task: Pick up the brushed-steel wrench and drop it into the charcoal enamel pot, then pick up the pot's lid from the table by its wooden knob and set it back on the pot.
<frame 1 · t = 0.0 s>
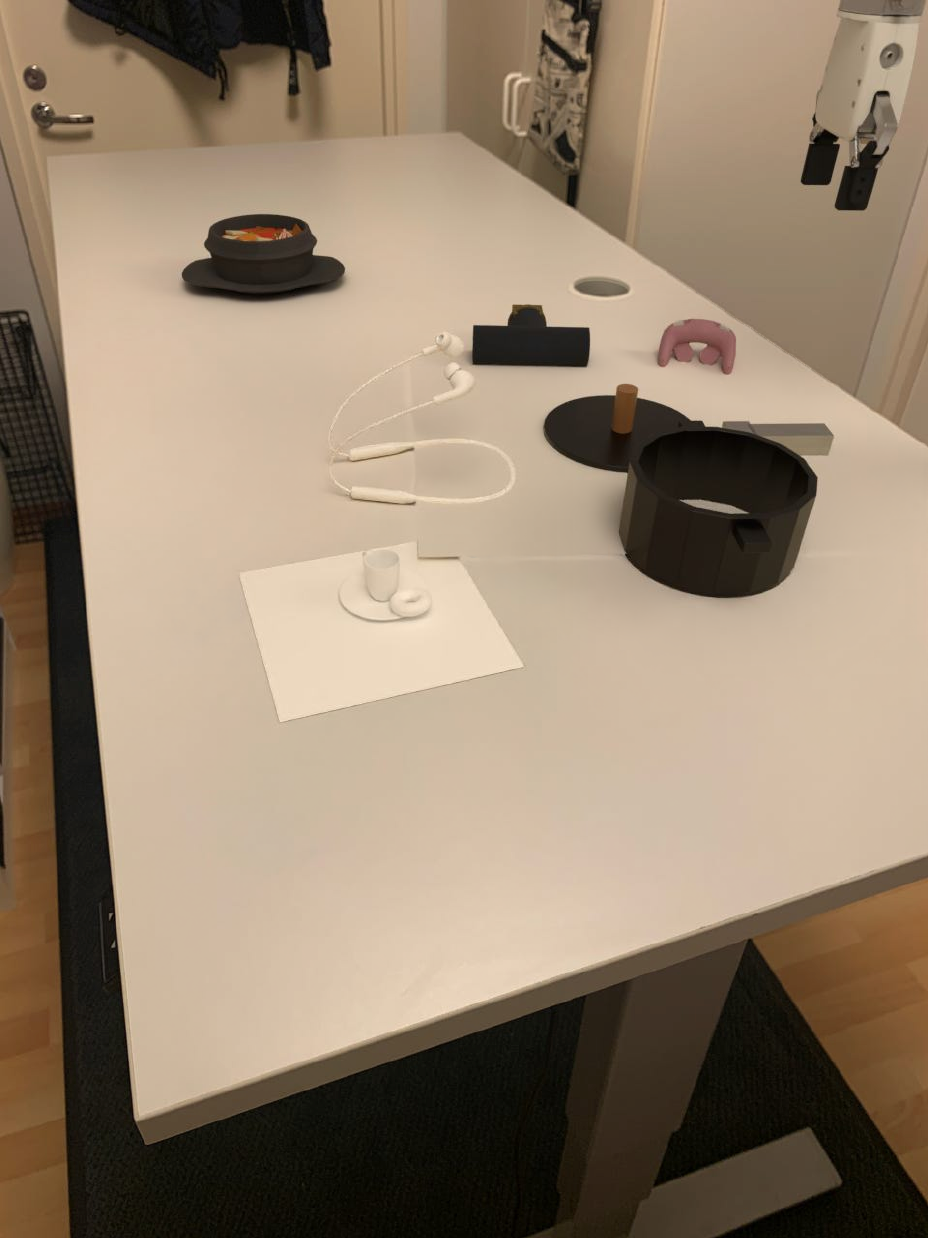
hand: (831, 196, 95), 25 cm above the table, tool pointing down, fingers open, 9 cm apart
video game controller: (693, 367, 122), on the table
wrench: (783, 453, 103), on the table
teacup and saucer: (373, 619, 79), on the table
pot: (705, 545, 88), on the table
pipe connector: (527, 355, 123), on the table
earphone: (423, 477, 98), on the table
lid: (620, 433, 105), point 1 cm above the table
casserole: (265, 284, 143), on the table
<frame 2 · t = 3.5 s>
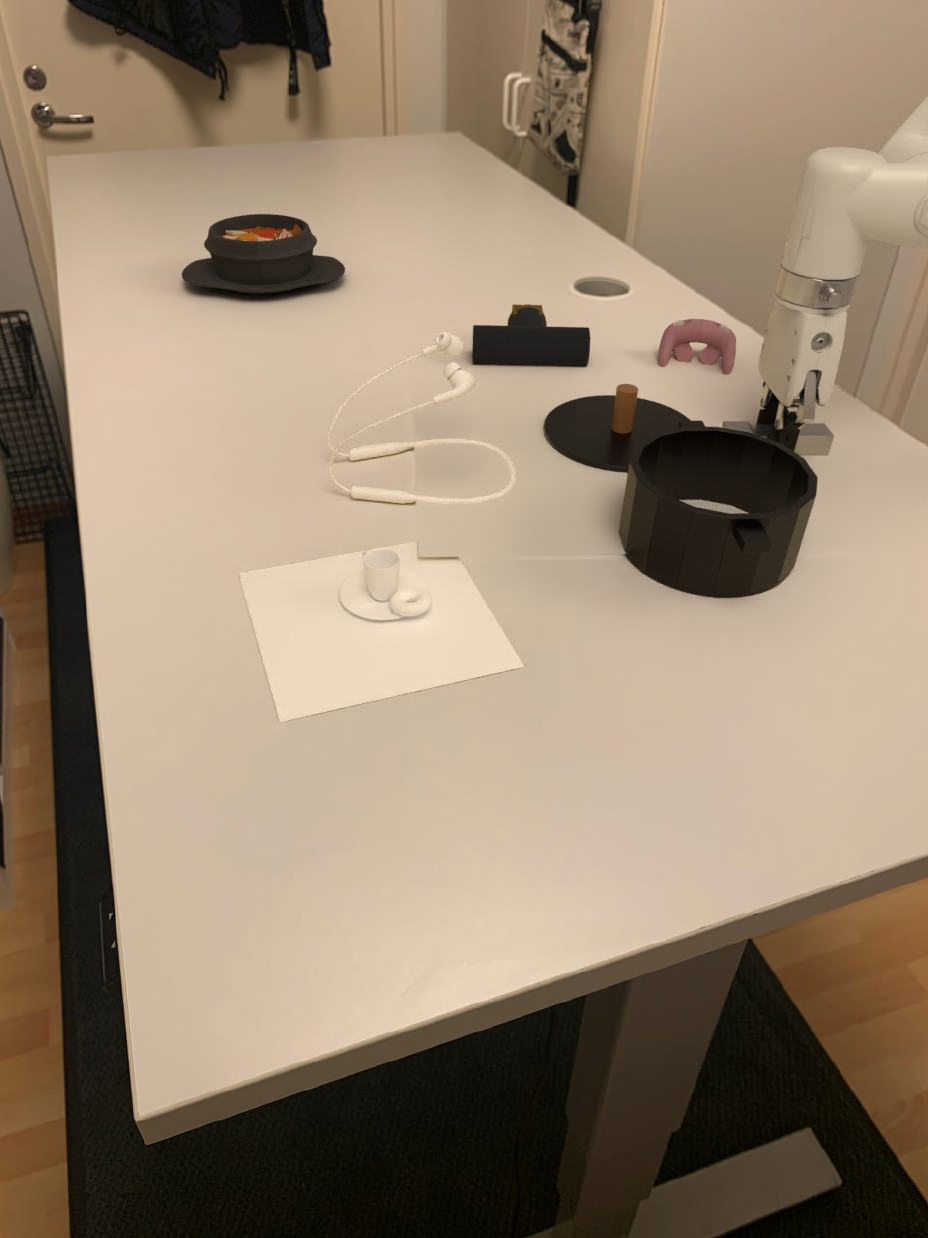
hand: (771, 448, 103), 1 cm above the table, tool pointing down, fingers closed on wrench, 3 cm apart
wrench: (783, 453, 103), on the table, touching gripper
everything else where it was.
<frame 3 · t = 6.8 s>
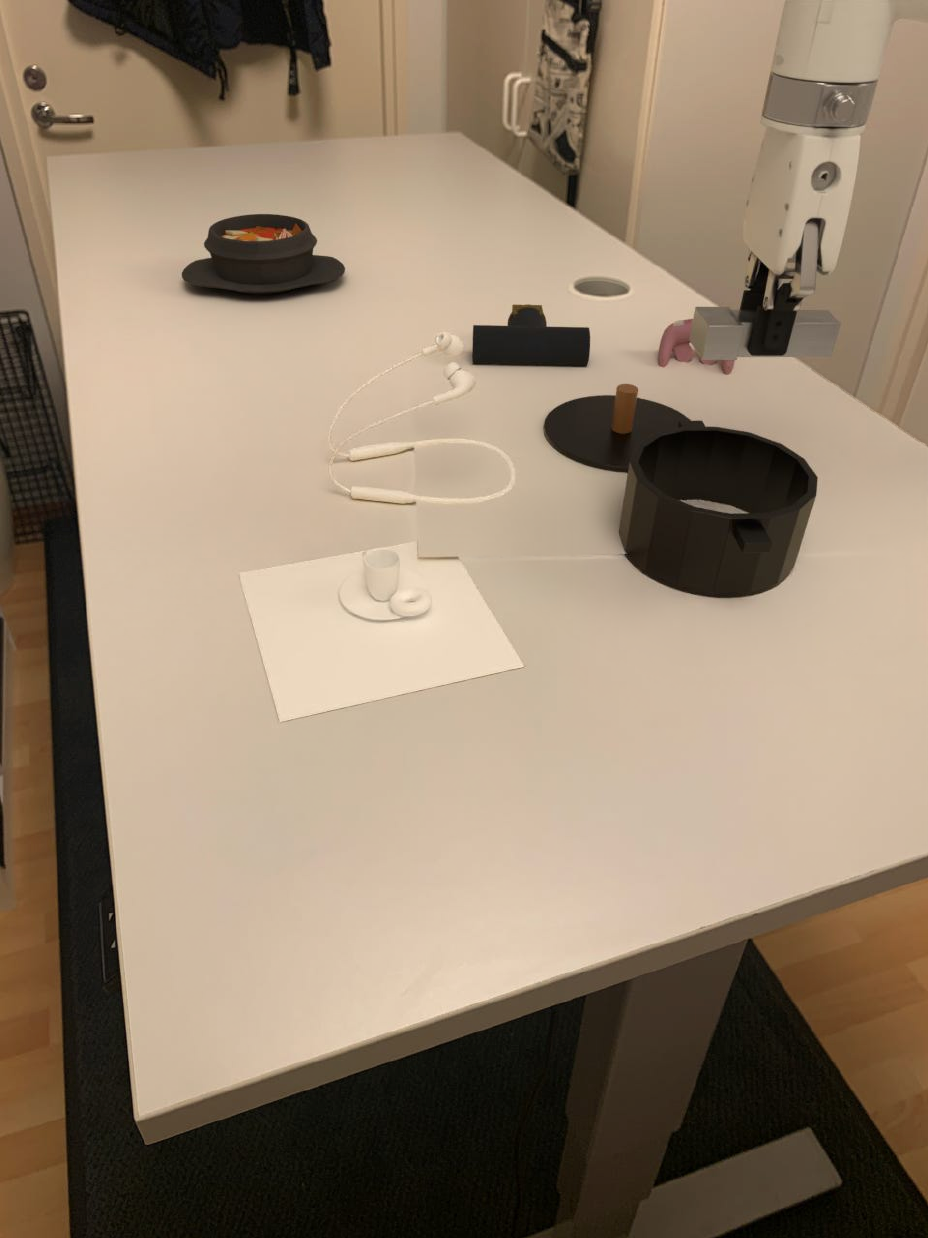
hand: (759, 343, 78), 19 cm above the table, tool pointing down, fingers closed on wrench, 3 cm apart
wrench: (774, 350, 79), point 19 cm above the table, touching gripper
everything else where it was.
when the fingers open (6 cm above the table, at t = 10.1 s): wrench drops 5 cm, resting on pot.
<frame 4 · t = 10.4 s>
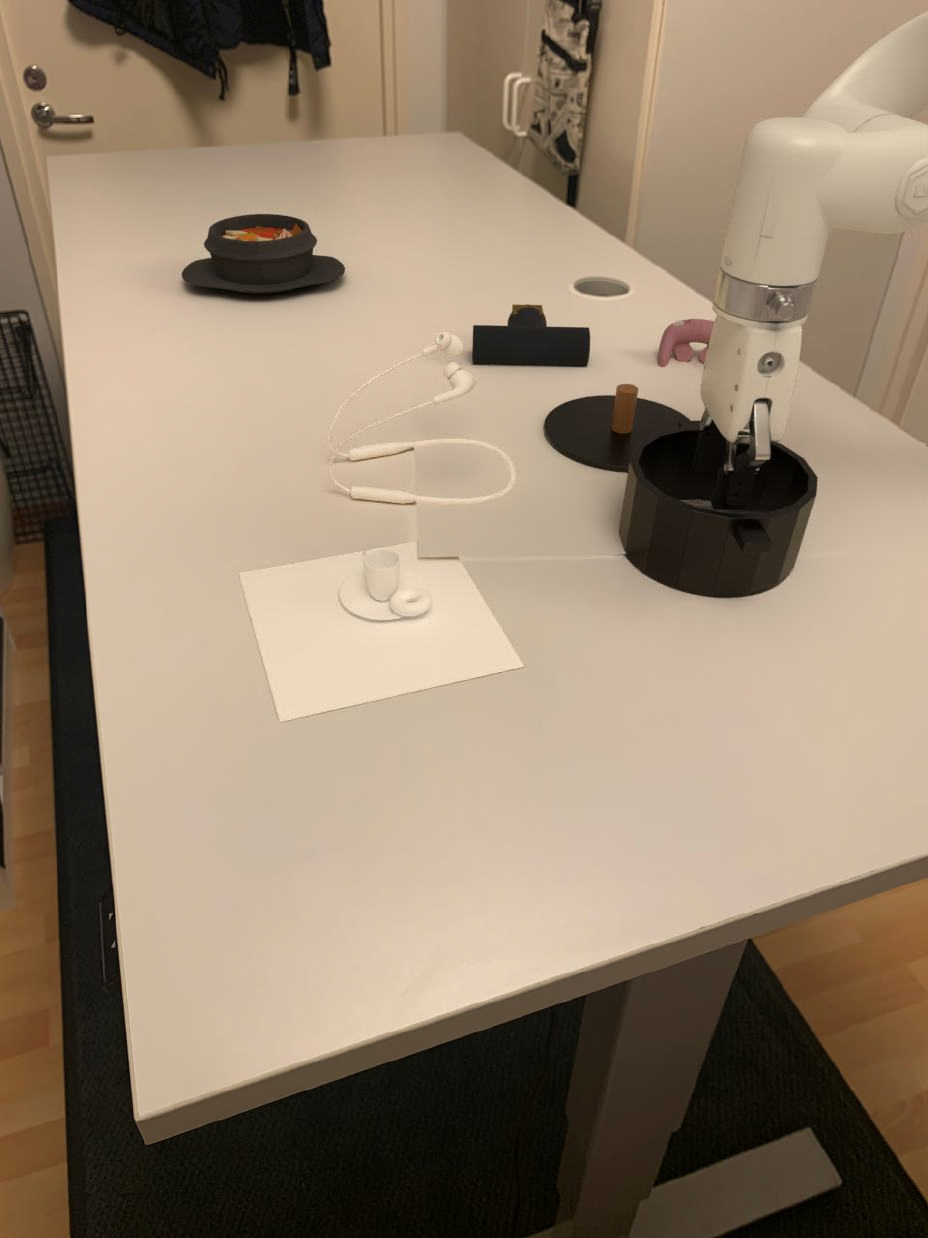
hand: (718, 487, 84), 7 cm above the table, tool pointing down, fingers open, 5 cm apart
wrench: (721, 540, 88), point 1 cm above the table, touching pot
everything else where it was.
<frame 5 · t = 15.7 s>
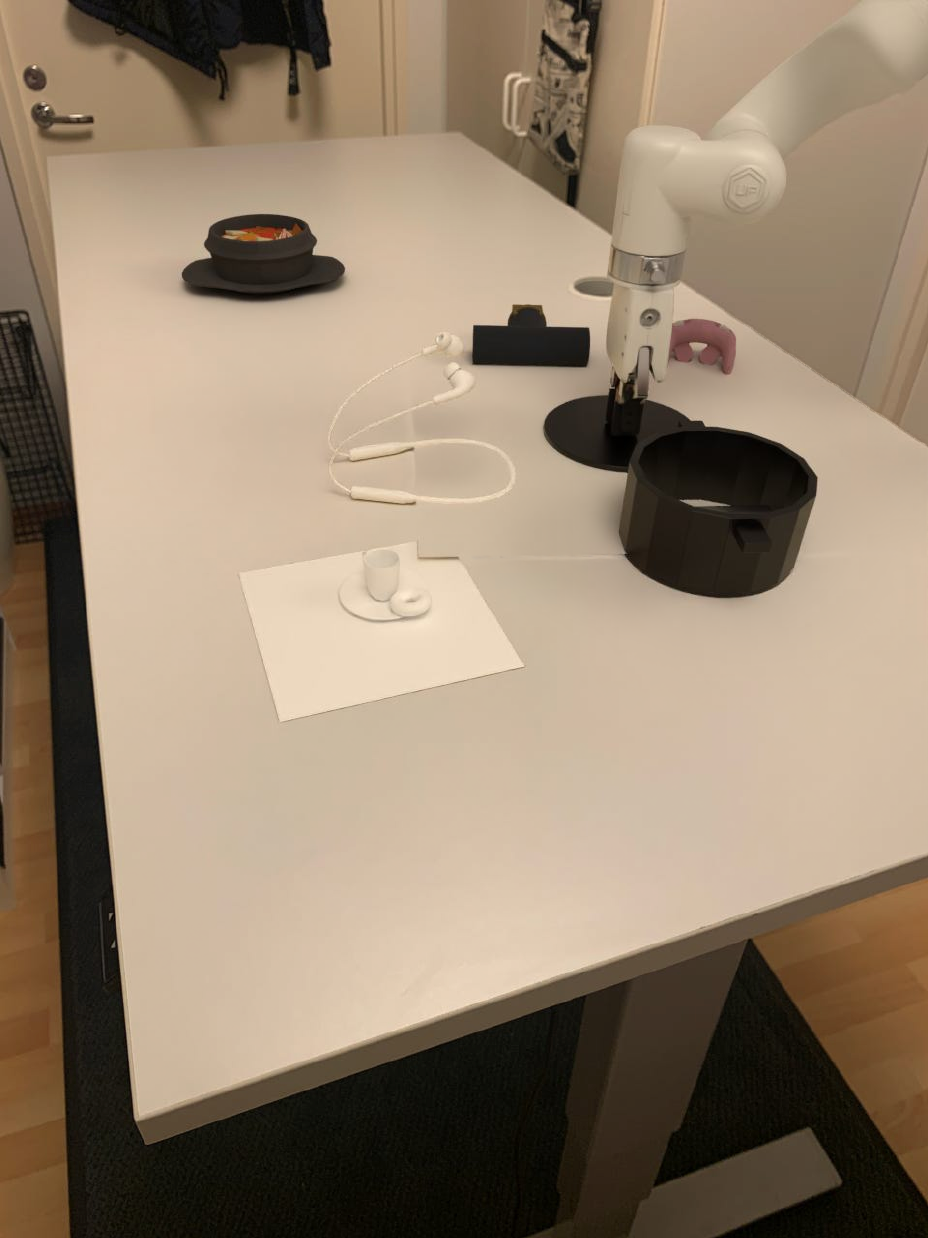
hand: (621, 426, 104), 1 cm above the table, tool pointing down, fingers closed on lid, 2 cm apart
lid: (620, 433, 105), point 1 cm above the table, touching gripper
everything else where it was.
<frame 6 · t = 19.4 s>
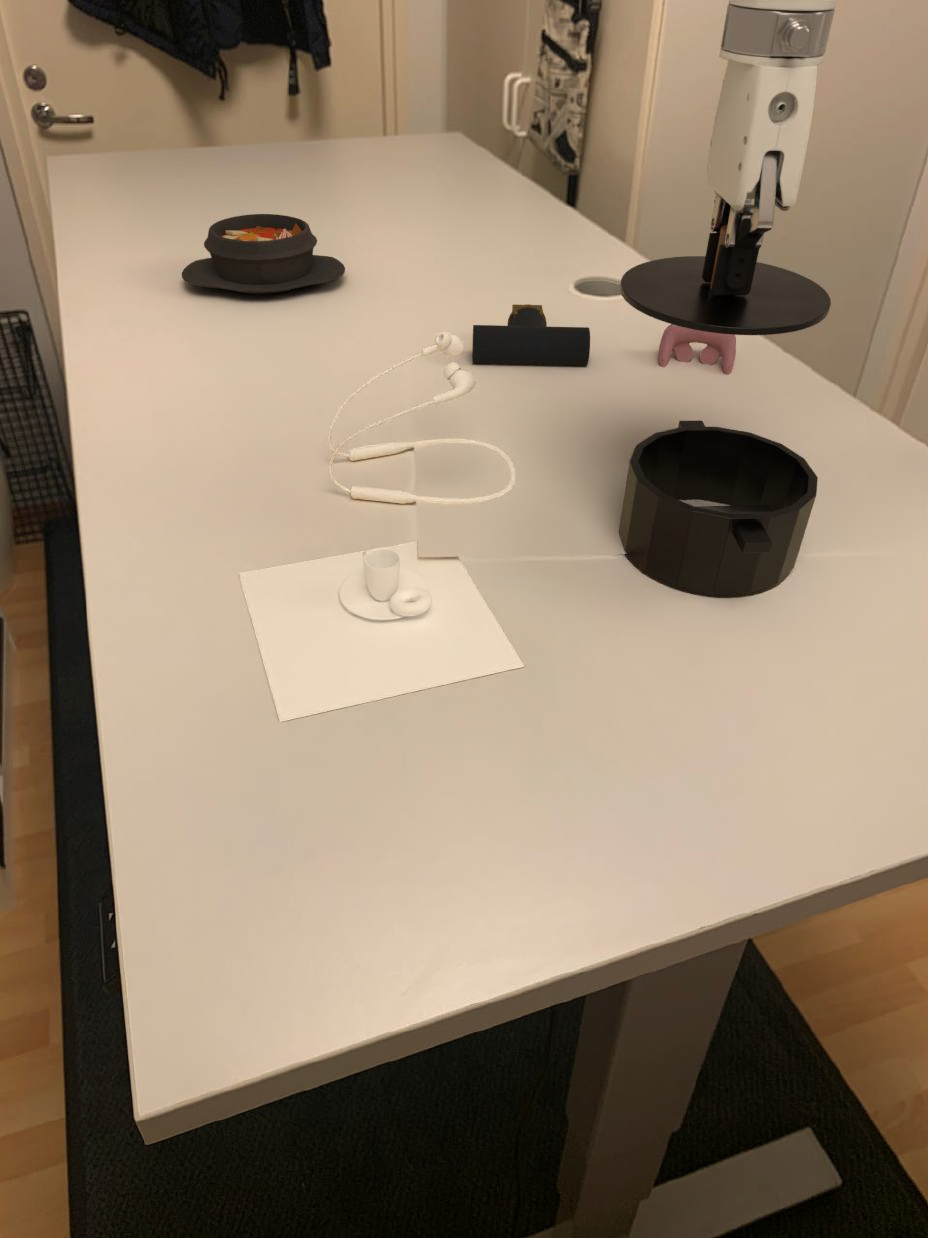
hand: (725, 285, 78), 23 cm above the table, tool pointing down, fingers closed on lid, 2 cm apart
lid: (722, 295, 79), point 22 cm above the table, touching gripper
everything else where it was.
when the fingers open (9 cm above the table, at t = 23.3 s): lid stays where it is, resting on pot.
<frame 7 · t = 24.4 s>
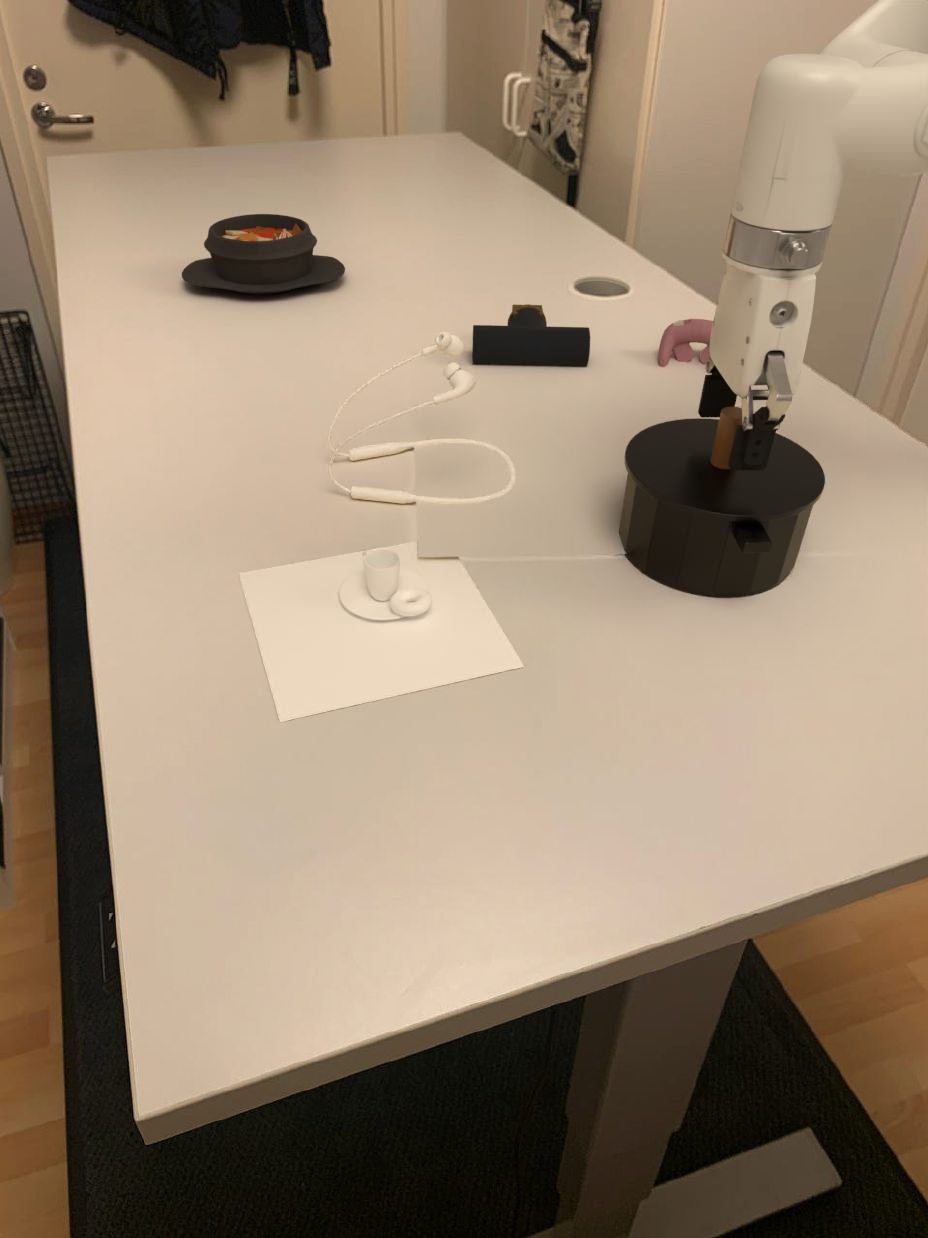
hand: (729, 440, 81), 11 cm above the table, tool pointing down, fingers open, 9 cm apart
lid: (722, 468, 83), point 8 cm above the table, touching pot
everything else where it was.
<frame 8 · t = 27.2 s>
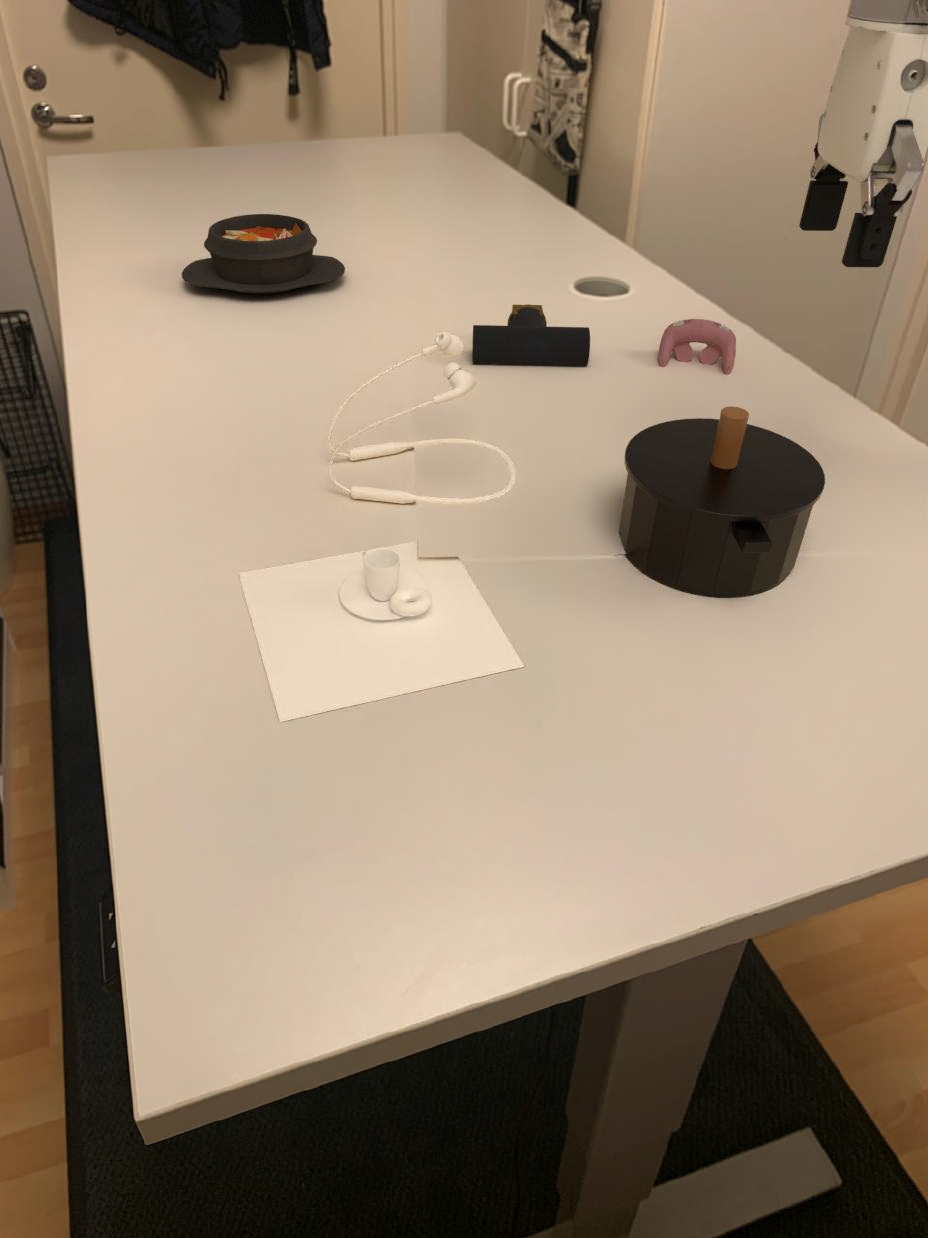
hand: (837, 246, 77), 26 cm above the table, tool pointing down, fingers open, 9 cm apart
nothing on the table moved.
at the end: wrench inside the target area in the pot (1.5 cm from its centre), point 0.5 cm above the pot's base; lid 0.1 cm off-centre on the pot, point 8.5 cm above the pot's base; lid tilted 0° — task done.
